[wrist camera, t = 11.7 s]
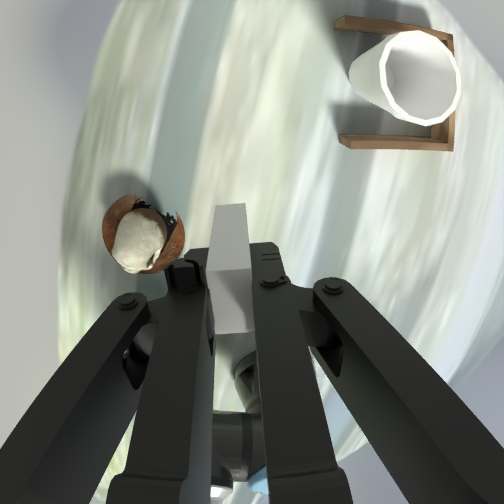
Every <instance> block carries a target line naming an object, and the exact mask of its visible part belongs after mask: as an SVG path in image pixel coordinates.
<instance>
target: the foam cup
mask: <svg viewBox="0 0 504 504" xmlns="http://www.w3.org/2000/svg"><path fill="white" fill-rule="evenodd" d="M348 74H349V83H350V84H351V86H352V88H353V90H354V92H355V93H357V94H358V95H359V96H361V97H362V98H363V99H365V100H367V101H369V102H371V103H373V104H375V105H377V106H379V107H381V108H382V109H384V110H386V111H388V112H390V113H391V114H392V115H393V116H394V117H396V118H398V119H401V120H405V121H409V122H412V123H416V124H419V125H423V126H429V125H433V124H437V123H441V122H443V121H444V120H445V119H446V118H447V117H448V116H449V115H450V114H451V113H452V112H453V111H454V110H455V108H456V105H457V103H458V100H459V97H460V94H461V79H460V71H459V68H458V66H457V64H456V61H455V59H454V57H453V55H452V52H451V51H450V50H449V49H448V48H447V47H446V46H445V45H444V44H443V43H442V42H441V41H440V40H439V39H438V38H437V37H434V36H432V35H430V34H427V33H425V32H422V31H420V30H415V31H406V32H399V33H395V34H391V35H389V36H388V37H386V38H385V39H384V40H383V41H382V42H380V43H379V44H378V45H376V46H374V47H373V48H371V49H369V50H368V51H366V52H365V53H363V54H361V55H360V56H359V57H357V58H356V59H355V60H354V61H353V62H352V63H351V66H350V69H349V71H348Z"/></svg>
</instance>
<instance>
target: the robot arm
mask: <svg viewBox="0 0 504 504" xmlns="http://www.w3.org/2000/svg"><path fill="white" fill-rule="evenodd" d="M164 272H165V276H166V281H167V285H168V292H167V296H165V297H163V298H160V299H157V300H153V301H149V302H147V299H146V297H145V296H144V295H143V294H141V293H126V294H123V295H121V296H119V297H117V298H116V299H115V300H114V301H113V302H112V303H111V304H110V305H109V306H108V307H107V309H106V310H105V311H104V312H103V313H102V315H101V316H100V317H99V318H98V319H97V321H96V322H95V323H94V324H93V325H92V327H91V328H90V329H89V330H88V332H87V333H86V334H85V335H84V336H83V338H82V339H81V340H80V341H79V343H78V344H77V345H76V346H75V348H74V349H73V350H72V351H71V353H70V354H69V355H68V356H67V358H66V359H65V360H64V362H63V363H62V364H61V365H60V367H59V368H58V369H57V371H56V372H55V373H54V375H53V376H52V377H51V379H50V380H49V381H48V383H47V384H46V385H45V387H44V388H43V389H42V391H41V392H40V393H39V395H38V396H37V397H36V399H35V400H34V401H33V403H32V404H31V406H30V407H29V408H28V410H27V411H26V413H25V414H24V415H23V417H22V418H21V420H20V421H19V422H18V424H17V425H16V427H15V428H14V430H13V431H12V433H11V434H10V435H9V437H8V438H7V440H6V441H5V443H4V444H3V446H2V448H1V449H0V504H89V503H90V501H91V498H92V497H93V495H94V493H95V491H96V489H97V487H98V485H99V483H100V481H101V479H102V477H103V475H104V473H105V471H106V469H107V467H108V465H109V463H110V461H111V459H112V457H113V455H114V453H115V451H116V449H117V447H118V445H119V443H120V441H121V439H122V437H123V435H124V433H125V432H126V430H127V428H128V426H129V424H130V422H131V420H132V418H133V416H134V414H135V412H136V410H137V413H136V417H135V422H134V426H133V431H132V436H131V441H130V446H129V451H128V456H127V461H126V466H125V469H124V471H123V472H122V473H121V474H118V475H115V476H114V477H113V479H112V480H111V482H110V486H109V489H108V494H107V499H106V504H222V502H223V500H224V499H225V498H226V497H227V496H229V495H230V494H231V493H232V492H233V481H235V482H237V481H238V482H247V485H248V487H249V489H250V490H251V491H252V492H255V493H260V494H268V496H269V504H353V500H352V496H351V491H350V487H349V483H348V480H347V477H346V474H345V472H344V470H343V469H341V468H340V467H338V465H337V462H336V459H335V455H334V450H333V446H332V442H331V437H330V433H329V429H328V425H327V420H326V416H325V412H324V408H323V404H322V400H321V396H320V392H319V388H318V384H317V380H316V370H315V366H314V363H313V361H312V359H311V356H310V352H309V348H308V346H310V349H311V352H312V353H313V355H314V357H315V358H316V360H317V361H318V363H319V364H320V366H321V368H322V369H323V371H324V372H325V374H326V375H327V377H328V378H329V380H330V382H331V383H332V385H333V386H334V388H335V389H336V391H337V392H338V394H339V396H340V397H341V399H342V400H343V402H344V403H345V405H346V406H347V408H348V410H349V411H350V413H351V414H352V416H353V417H354V419H355V420H356V422H357V424H358V425H359V427H360V428H361V430H362V431H363V433H364V434H365V436H366V438H367V439H368V441H369V442H370V444H371V445H372V447H373V448H374V450H375V451H376V453H377V455H378V456H379V458H380V459H381V461H382V462H383V464H384V465H385V467H386V469H387V470H388V472H389V473H390V475H391V476H392V478H393V479H394V481H395V482H396V484H397V486H398V487H399V489H400V490H401V491H402V493H403V495H404V496H405V498H406V499H407V501H408V503H409V504H504V448H503V447H502V446H501V445H500V444H499V443H498V441H497V440H496V439H495V438H494V437H493V435H492V434H491V433H490V432H489V431H488V430H487V429H486V427H485V426H484V425H483V424H482V423H481V422H480V420H479V419H478V418H477V417H476V416H475V415H474V414H473V412H472V411H471V410H470V409H469V408H468V407H467V406H466V405H465V403H464V402H463V401H462V400H461V399H460V398H459V397H458V396H457V394H456V393H455V392H454V391H453V390H452V389H451V388H450V387H449V386H448V385H447V383H446V382H445V381H444V380H443V379H442V378H441V377H440V376H439V375H438V374H437V373H436V371H435V370H434V369H433V368H432V367H431V366H430V365H429V364H428V363H427V362H426V361H425V360H424V359H423V358H422V356H421V355H420V354H419V353H418V352H417V351H416V350H415V349H414V348H413V347H412V346H411V345H410V344H409V343H408V342H407V341H406V340H405V339H404V338H403V337H402V335H401V334H400V333H399V332H398V331H397V330H396V329H395V328H394V327H393V326H392V325H391V324H390V323H389V322H388V321H387V320H386V319H385V318H384V317H383V316H382V315H381V314H380V313H379V312H378V311H377V310H376V309H375V308H374V307H373V306H372V305H371V304H370V303H369V302H368V301H367V300H366V299H365V298H364V297H363V296H362V295H361V294H360V293H359V292H358V291H357V290H356V289H355V288H354V287H353V286H352V285H351V284H350V283H349V282H347V281H346V280H343V279H340V278H336V277H335V278H334V277H329V278H323V279H320V280H318V281H317V282H316V283H315V284H314V287H313V289H312V288H303V287H299V286H296V285H294V284H292V283H291V281H290V279H289V277H288V276H286V275H285V271H284V267H283V263H282V260H281V256H280V252H279V248H278V246H276V245H275V244H274V243H273V242H265V243H251V244H249V237H248V226H247V215H246V205H245V203H242V204H229V205H217V206H216V208H215V214H214V220H213V226H212V233H211V239H210V245H209V248H197V249H190V250H189V251H188V252H187V253H186V254H185V255H184V258H181V259H177V260H174V261H171V262H170V263H168V264H167V265H166V266H165V268H164ZM214 328H215V333H216V334H231V333H246V332H255V340H256V352H253V353H251V354H250V355H248V356H246V357H245V358H244V359H243V360H242V361H241V362H240V363H239V364H238V366H237V368H236V370H235V387H236V390H237V392H238V394H239V397H240V399H241V401H242V403H243V406H244V408H245V411H246V413H244V412H232V411H219V410H213V391H214V368H215V347H216V343H215V337H214ZM125 351H126V352H125ZM124 353H125V354H124Z"/></svg>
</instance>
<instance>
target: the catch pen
mask: <svg viewBox="0 0 504 504" xmlns="http://www.w3.org/2000/svg"><path fill="white" fill-rule="evenodd" d="M333 25H334V30H347V31H358V32H368V33H377V34H384V35H391V34H395V33H399V32H406V31H415V30H420V31H422V32H425V33H427V34H430V35H432V36H434V37H437V38H438V39H439V40H440V41H441V42H442V43H443V44H444V45H445V46H446V47H447V48H448V49H449V50H450V51H451V52H452V55H453V57H454V45H453V35H452V34H448V33H445V32H441V31H436V30H432V29H428V28H423V27H419V26H414V25H409V24H403V23H398V22H392V21H385V20H378V19H371V18H363V17H353V16H343V17H341V18H340V19H338V20H337V21H335V22H333ZM454 131H455V110H454V111H453V112H452V113H451V114H450V115H449V116H448V117H447V118H446V119H445V120H444V121H443V122H441V123H437V124H433V125H431V137H417V136H393V135H339V143H341V144H343V145H345V146H346V147H348V148H350V149H408V150H435V151H453V148H454Z"/></svg>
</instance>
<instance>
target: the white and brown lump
mask: <svg viewBox="0 0 504 504" xmlns="http://www.w3.org/2000/svg"><path fill="white" fill-rule="evenodd" d="M140 198H142V197H139V198H137V197H136V196H134V195H132V194H130V195H127V196H124V197H122V198H121V199H119V200H117V201H116V202H115V203H114V204H113V205H112V206H111V207H110V209H109V210H108V212H107V214H106V216H105V218H104V222H103V239H104V242H105V245H106V248H107V250H108V251H109V253H110V254H111V256H112V257H113V258H114V259H115V260H116V261H117V262H118V263H119V264H120V265H121V266H122V268H123V269H124V270H125V271H126V272H129V273H133V274H134V273H137V272H138V273H143V274H152V273H156V272H160V271H163V270H164V268H165V266H166V265H167V264H168V263H170V262H171V261H174V260H177V259H178V258H179V256H180V254H181V252H182V250H183V246H184V241H185V233H184V227H183V224H182V221H181V219H180V217H179V215H178V214H177V212H176V214H177V222H176V220H175V219H174V217H173V215H172V216H171V217H170V215H169V213H167V216H165V215H163V216H162V214H160V213H158V211H157V212H156V211H155V210H154V209H151V208H149V206H151V205H147V204H146V205H145V204H144V203H145V201H140V202H138V203H136V202H137V201H138V200H140ZM144 205H145V206H144ZM171 219H172V220H173V223H171V222H170V220H171ZM172 220H171V221H172Z"/></svg>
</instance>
